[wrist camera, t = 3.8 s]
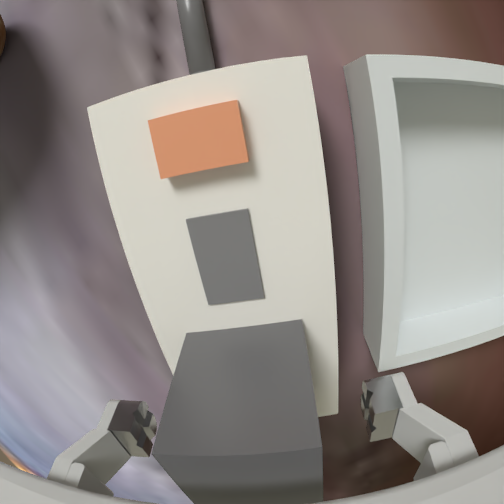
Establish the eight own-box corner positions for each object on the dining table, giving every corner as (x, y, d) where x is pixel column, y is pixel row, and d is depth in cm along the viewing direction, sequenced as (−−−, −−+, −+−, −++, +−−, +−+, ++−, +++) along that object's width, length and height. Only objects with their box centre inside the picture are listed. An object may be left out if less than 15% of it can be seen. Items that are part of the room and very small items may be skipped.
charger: (192, 312, 13) (151, 453, 7) (298, 298, 13) (322, 447, 7) (217, 383, 15) (199, 509, 9) (306, 374, 15) (323, 503, 8)
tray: (343, 66, 11) (365, 54, 8) (548, 83, 10) (583, 87, 7) (363, 333, 16) (378, 372, 13) (534, 288, 15) (559, 311, 12)
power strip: (109, -10, 10) (63, -39, 6) (267, -50, 9) (269, -100, 5) (206, 380, 18) (196, 436, 14) (327, 366, 17) (340, 423, 13)
